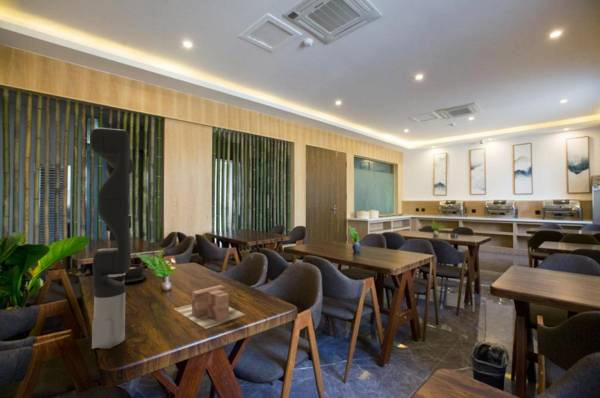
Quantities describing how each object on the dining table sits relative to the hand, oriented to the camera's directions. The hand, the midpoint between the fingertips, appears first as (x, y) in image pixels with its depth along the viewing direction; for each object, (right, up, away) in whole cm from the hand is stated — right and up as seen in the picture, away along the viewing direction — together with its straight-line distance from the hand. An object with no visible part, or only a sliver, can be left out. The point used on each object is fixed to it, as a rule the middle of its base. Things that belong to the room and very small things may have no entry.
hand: (119, 239), depth 124 cm
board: (+39, -33, +1) cm, 52 cm away
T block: (+43, -33, -2) cm, 54 cm away
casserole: (-28, -34, +54) cm, 69 cm away
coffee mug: (-19, -34, +29) cm, 48 cm away
